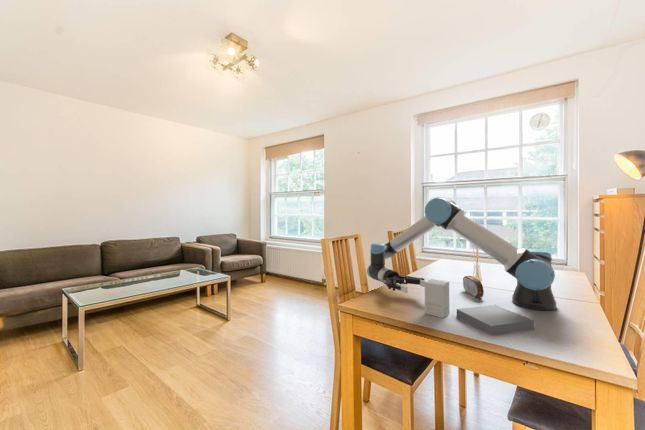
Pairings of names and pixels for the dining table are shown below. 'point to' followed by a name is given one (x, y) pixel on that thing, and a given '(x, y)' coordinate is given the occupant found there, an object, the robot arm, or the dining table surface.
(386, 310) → the dining table surface
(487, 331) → the gray board
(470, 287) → the tin
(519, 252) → the robot arm
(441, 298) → the supplement box
